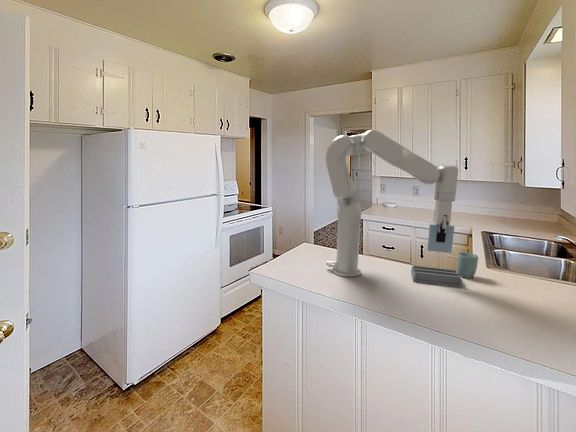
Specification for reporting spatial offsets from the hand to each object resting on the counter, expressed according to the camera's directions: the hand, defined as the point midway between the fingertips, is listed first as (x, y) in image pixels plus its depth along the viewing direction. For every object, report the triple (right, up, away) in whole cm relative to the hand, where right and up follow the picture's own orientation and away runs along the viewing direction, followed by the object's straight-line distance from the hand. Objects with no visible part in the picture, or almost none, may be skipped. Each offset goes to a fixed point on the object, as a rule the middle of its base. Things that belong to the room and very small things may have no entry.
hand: (439, 241), depth 128 cm
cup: (+16, -17, +10) cm, 26 cm away
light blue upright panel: (0, -4, +1) cm, 4 cm away
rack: (0, -17, +5) cm, 18 cm away
